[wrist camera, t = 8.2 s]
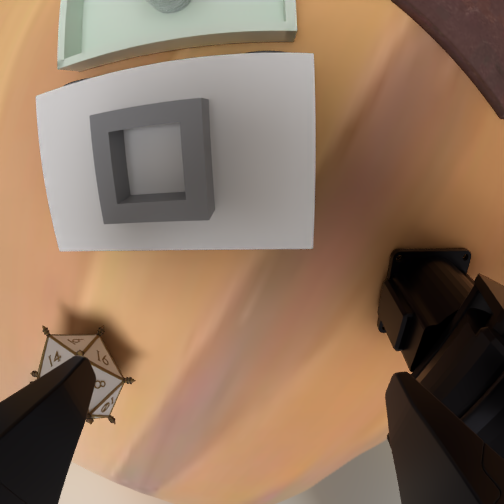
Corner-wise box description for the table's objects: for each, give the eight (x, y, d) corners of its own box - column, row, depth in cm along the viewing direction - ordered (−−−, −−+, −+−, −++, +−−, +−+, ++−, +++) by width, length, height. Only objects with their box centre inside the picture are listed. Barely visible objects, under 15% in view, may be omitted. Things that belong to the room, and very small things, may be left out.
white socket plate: (303, 61, 15) (318, 39, 10) (304, 225, 19) (316, 269, 14) (74, 90, 15) (17, 91, 10) (92, 230, 19) (47, 267, 14)
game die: (95, 310, 27) (6, 306, 18) (162, 340, 24) (63, 351, 15) (86, 392, 26) (6, 407, 17) (148, 431, 23) (63, 467, 14)
